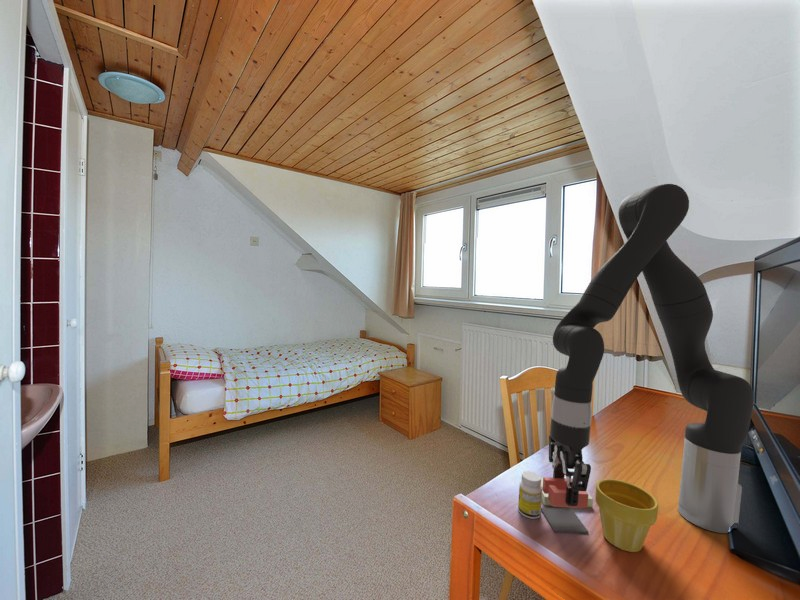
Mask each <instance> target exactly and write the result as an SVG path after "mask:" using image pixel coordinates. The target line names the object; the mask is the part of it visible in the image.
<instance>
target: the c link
mask: <svg viewBox="0 0 800 600" xmlns="http://www.w3.org/2000/svg"><path fill="white" fill-rule="evenodd" d="M572 480H573V477H571V482H572ZM566 488H567V481H566V477H564V478H553V477H547V476H545V477H544V476H543V488H542V490H543V492H544V493H545V494H548V499H549V501H550V502H551V504H552V505H553V506H552V508H569V509H573V508H574V509H575V508H576V509H588V507H587V505H588V494H589V492H588V491H587V490H586V491H587V492H588V493H587V492H586V491H579V495H578V505H577V506H568V505H567V503H566Z"/></svg>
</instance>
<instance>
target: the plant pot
mask: <svg viewBox="0 0 800 600" xmlns="http://www.w3.org/2000/svg"><path fill="white" fill-rule="evenodd" d="M595 502H596V505H597V507H598V509H599V510H598V511H599V515H600V523H601V529H602V535H603V536H604V538H605V539H606V540H607V542H609V543H610V544H611V545H613V546H614V547H616V548H617V549H620V550H622V551H626V552H630V553H638V552H640V551H641V550H642V549H643V547H644V546H643V545H644V543H645V541H646V538H647V536H648V533H649V531H650V529H651V526H653V525H655V524H656V522H657V519H658V512H659V503H658V500H657V499H656V497H654V496H653V495H652V494H651V493H650V492H648V491H647V490H646V489H644V488H642V487H640V486H638V485H637V484H633V483H630V482H628V481H625V480H620V479H616V478H615V479H614V478H604V479H601V480H599V481H597V483H596V485H595Z"/></svg>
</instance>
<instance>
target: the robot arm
mask: <svg viewBox="0 0 800 600" xmlns="http://www.w3.org/2000/svg"><path fill="white" fill-rule="evenodd" d="M689 209H690V200H689V196H688V194H687V192H686V191H685V189H683V187H681V186H680V185H677V184H673V183H664V184H659V185H655V186H652V187H649V188H645V189H644V190H640V191H637V192H634V193H631V194H629V195H627V196H626V197H624V199H623V200H622V201H621V203H620V205H619V207H618V221H619V224H620V227H621V229H622V232H623V234H624V235H625V237H626V239H627V240H626V241H625V243H624V244H623V245H622V246H621V247H620V248H619V249H618V250H617V251H616V252H615V253H614V254H613V255H612V256H611V257H610V258H609V259H608V261H606V262H605V263H604V264H603V265H602V266H601V267H600V268H599V269H598V271H597V272H596V273H595V275H594V276H593V277H592V279H591V280H590V282H589V283H588V285H587V287H586V289H585V290H584V291H583V294H582V295H581V297H580V299H579V301H578V302H577V303H576V304H575V305H574V306H573V307H572V308H571V309H570V311H568V312H567V314H566V315H565V316H564V317H563V318H562V319H561V320H560V322H559V323H558V324H557V325H556V327H555V329H554V331H553V334H552V344H553V346H554V349H555V350H556V351H557V352H558V353H560V354H561V355H564V356H566V357H568V360H567V361H568V362H567V364H566V366H565V367H561V368H560V369H558V370H557V371H556V374H555V381H554V395H553V399H552V402H551V403H552V404H551V416H550V427H549V435H548V462H549V463H551V468H552V469H553V471H552V472H553V473H552V478H566V481H567V488H566V503H567V505H568V506H577V505H578V495H579V491H587V489H588V485H589V480H590V477H591V476H590V475H591V471H592V467H591V465H590V463H585V461H584V460H583V451H582V450H583V449H584V448H586V447H588V446H589V444H590V439H591V438H590V436H591V425H592V424H591V423H592V415H593V414H592V413H593V411H592V410H593V407H592V400H593V399H592V398H593V387H594V386H593V383H594V380H595V377H596V376H597V373H598V371H599V368H600V365H601V363H602V360H603V357H604V353H605V341H604V338H603V336H602V335H601V333H600V331H598V329H596V328H595V327H596V326H598V324H601V323H606V322H609V321H611V320H612V319H613V317H615V315H616V314H617V312H618V311H619V308H620V306H621V305H622V303H623V301H624V300H625V298H626V296H627V295H628V293H629V291H630V289H632V288H631V287H633V284H634V283H635V282H636V281H637V279H638V277H639V276H640V275H641V273H642V274H643V278H644V280H645V281H646V282H645V283H646V284H647V287H648V290H649V293H650V295H651V299H652V300H651V301H652V303H653V305H654V308H655V311H656V314H657V317H658V320H659V321H660V324H661V326H662V329H663V333H664V335H665V338H666V340H667V343H668V344H667V345H668V347H669V350H670V353H671V357H672V362H673V365H674V370H675V375H676V378H677V380H676V381H677V383H678V387H679V390H680V394H681V395H682V396H683V398H684V399H685V401H687V402H688V403H689V404H690V405H692V406H694V407H696V408H698V409H700V410H703V411H706V417H705V420H704V423H703V422H694V423H693V422H692V423H688V424H687V425H686V426H685V429H684V441H683V442H684V443H683V450H682V451H683V453H682V462H681V463H682V464H681V470H680V471H681V473H680V484H679V494H678V505H677V510H678V513H679V515H681V516H682V517H683V518H684V519H685V520H686V521H688V522H690V523H691V524H694V525H695V526H697V527H700V528H701V529H705V530H707V531H710V532H713V533H718V534H729V533H728V530H729V527H731V526H732V525H733V524H734V523H738V524H739V520H740V518H739V517H740V509H741V499H742V491H743V487H742V485H741V484H739V473H740V468H741V466H740V465H741V457H742V448H743V445H744V443H745V441H746V439H747V438H748V434H749V431H750V430H749V429H750V425H751V419H752V414H753V411H754V410H753V409H754V402H755V401H754V400H755V397H754V391H753V387H752V386H751V384H750V382H748V381H747V380H746V379H745V378H743V377H740V376H737V375H734V374H731V373H727V372H723V371H719V370H716V369H715V368H714V367H713V366H712V364H711V362H710V359H709V356H708V354H707V351H706V350H707V349H706V339H707V335H708V333H709V331H710V328H711V326H712V322H713V318H714V311H713V307H712V304H711V301H710V297H709V295H708V293H707V290H706V287H705V285H704V283H703V281H702V280H701V279H700V278H699V276H698V275H697V274H696V273H695V272H694V270H692V269H691V268H690V267H689V266H688V265H687V264H685V262H683V260H682V259H680V257H678V256H677V255H676V254H675V252H674V251H673V249H671V247H670V245H669V243H668V240H669V238H670V237H671V236H672V235H673V233H674V232H675V231H676V230H677V229H678V228H679V226H681V224H682V222H683V221H684V220H685V218H686V216H687V215H688V212H689ZM571 470H574V471H571ZM571 478H572V479H573V480H572V482H571Z"/></svg>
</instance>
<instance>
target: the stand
mask: <svg viewBox="0 0 800 600" xmlns="http://www.w3.org/2000/svg"><path fill="white" fill-rule="evenodd" d="M540 477H541V476H540ZM543 477H544V476H543ZM543 477H541V486H542V488H543ZM586 492H587V493H588V505H587V508H593V504H594V498H593V497H592V496H591V494H590V493H589V492H588V491H587V490H586ZM541 503H542V504H543V505H544V506H549V507H550V506H552V507H553V505H552V504H551V502H550V501H549V499H548V494H545V493H544V492H543V490H542V501H541Z"/></svg>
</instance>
